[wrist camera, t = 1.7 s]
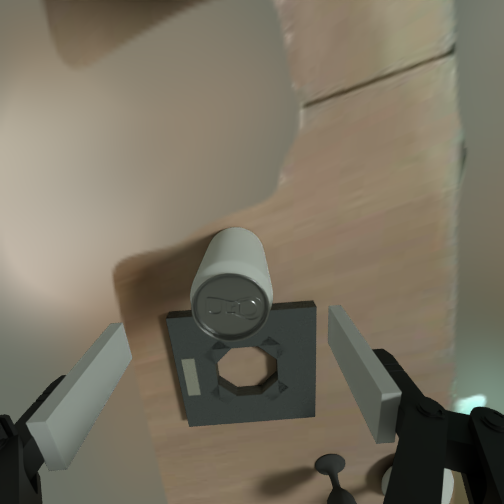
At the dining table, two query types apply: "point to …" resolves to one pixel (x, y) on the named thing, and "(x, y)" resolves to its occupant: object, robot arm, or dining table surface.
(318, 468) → the sundae
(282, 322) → the socket plate
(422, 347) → the dining table surface
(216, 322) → the can
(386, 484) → the flower in vase
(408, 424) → the robot arm
